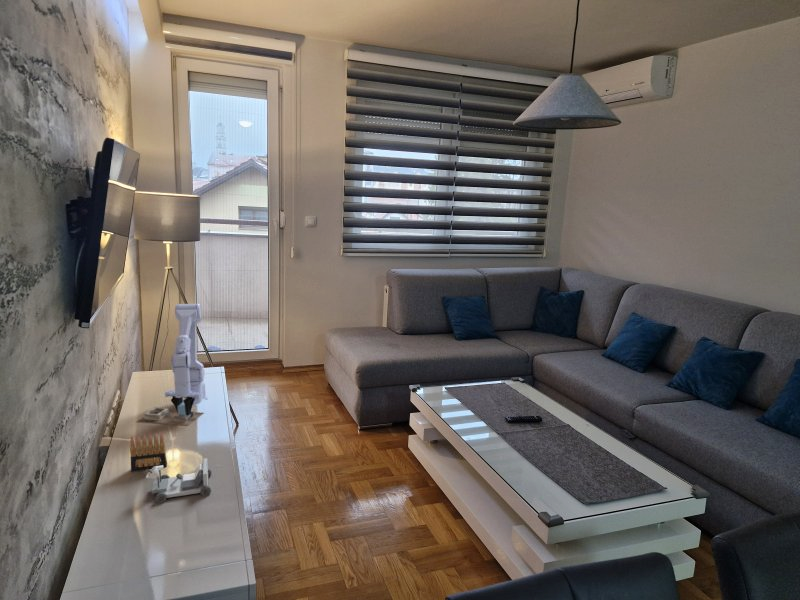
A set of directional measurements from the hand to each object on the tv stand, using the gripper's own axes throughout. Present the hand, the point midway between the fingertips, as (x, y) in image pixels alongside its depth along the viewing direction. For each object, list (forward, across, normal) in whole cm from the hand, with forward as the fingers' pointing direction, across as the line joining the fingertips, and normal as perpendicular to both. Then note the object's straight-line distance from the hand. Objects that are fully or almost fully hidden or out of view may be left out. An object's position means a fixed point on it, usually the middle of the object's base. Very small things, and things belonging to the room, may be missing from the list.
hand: (184, 414), depth 208 cm
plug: (+2, 0, 0) cm, 2 cm away
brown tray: (+2, -6, 0) cm, 6 cm away
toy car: (+3, +26, -48) cm, 54 cm away
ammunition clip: (+3, +9, -38) cm, 39 cm away
